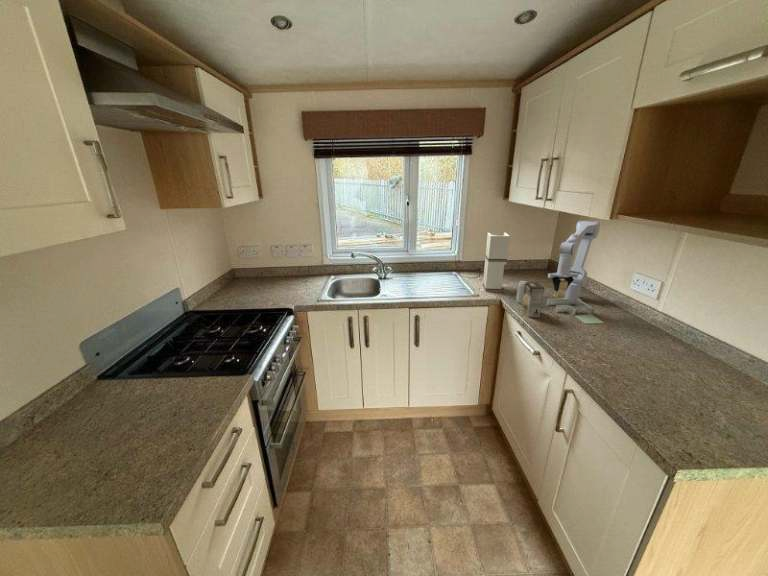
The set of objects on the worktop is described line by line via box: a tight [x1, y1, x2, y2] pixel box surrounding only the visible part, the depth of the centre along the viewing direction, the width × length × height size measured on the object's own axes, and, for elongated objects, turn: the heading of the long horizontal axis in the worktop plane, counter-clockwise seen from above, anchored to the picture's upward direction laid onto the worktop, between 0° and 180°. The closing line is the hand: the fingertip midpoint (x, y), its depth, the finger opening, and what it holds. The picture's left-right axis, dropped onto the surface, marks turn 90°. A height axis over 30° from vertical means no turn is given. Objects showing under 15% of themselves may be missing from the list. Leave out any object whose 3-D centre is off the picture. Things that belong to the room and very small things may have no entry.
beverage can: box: [515, 280, 528, 304], centre depth 171 cm, size 6×6×12 cm
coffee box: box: [521, 281, 545, 318], centre depth 156 cm, size 9×6×16 cm
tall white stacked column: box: [482, 232, 511, 293], centre depth 188 cm, size 11×11×35 cm
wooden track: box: [546, 297, 595, 316], centre depth 161 cm, size 15×16×4 cm
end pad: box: [573, 314, 605, 325], centre depth 150 cm, size 9×9×1 cm
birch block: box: [553, 278, 568, 298], centre depth 160 cm, size 4×4×9 cm
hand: (560, 290), depth 160 cm, fingers closed on birch block, 4 cm apart
